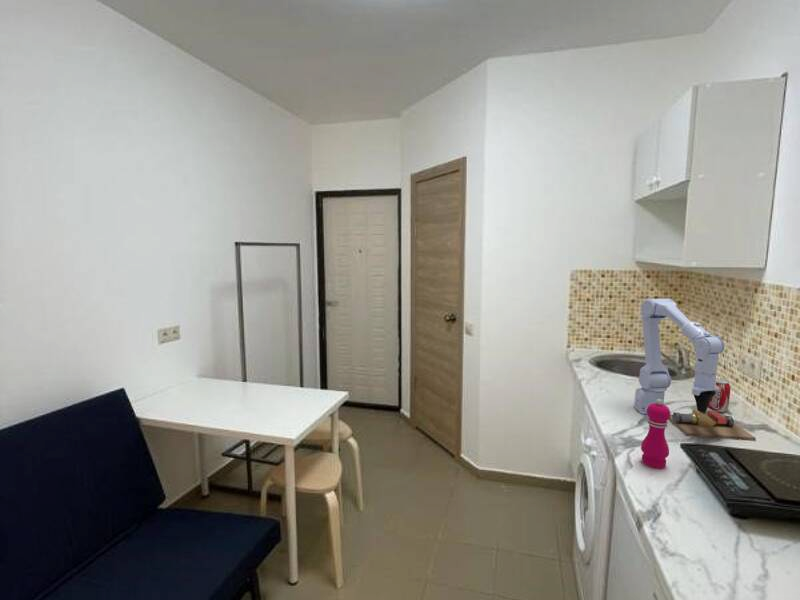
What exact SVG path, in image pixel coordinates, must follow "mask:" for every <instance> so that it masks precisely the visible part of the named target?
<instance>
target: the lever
mask: <svg viewBox="0 0 800 600" xmlns="http://www.w3.org/2000/svg"><path fill="white" fill-rule="evenodd" d="M706 413H707V416H708V417H710V418H711V419H712V420H714V421H715V422H716V423H720V424H726V421H727V418H725V417H724V415H722V414H721V413H720V412H716V411H712V410H711V409H709V408H707V410H706Z"/></svg>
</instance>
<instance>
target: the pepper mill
mask: <svg viewBox="0 0 800 600" xmlns="http://www.w3.org/2000/svg"><path fill="white" fill-rule="evenodd" d="M646 415H647V416H648V417H647V424H648V431H647V432H648V433H647V434H646V436H645V437H644V439H642V441H641V446H640V450H641V452H642V455H641V462H642V463H643V464H644V465H646V466H647V467H650V468H654V469H658V470H659V469H665V468H666V467H667V459H666V458H667V457H669V455H670V448H669V444H668V442H667V439H666V436H665V433H666V432H665V430H666V428H667V427H668V423H669V422H668V421H669V418H670V415H671V409H670V408H669V407H668V406H667V405H665V404H663V401H662V400H661V399H657V400H656V403H653V404H651V405H649V406H648V408H647V414H646Z"/></svg>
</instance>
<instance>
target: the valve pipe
mask: <svg viewBox="0 0 800 600" xmlns="http://www.w3.org/2000/svg"><path fill="white" fill-rule="evenodd" d="M672 415H673V416H672V418H673V422H674V423H691V424H695V425H697V426H702V427H713V426H716V425H721V426H728V427H733V425H734V423H735V420H734V417H732V416H731V415H725V416H724V415H723V416H724V417H725V418H727V421H726V424H720V423H716V422H715V421H714V420H712V419H711V418H710V417H708V416H707V413H706V412H705V413H704V412H700V411H698V410H697V408H692V410H691V413H680V412H675V411H674V412H673V413H672Z"/></svg>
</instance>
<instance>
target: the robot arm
mask: <svg viewBox="0 0 800 600" xmlns="http://www.w3.org/2000/svg"><path fill="white" fill-rule="evenodd" d="M640 312H641V313H640V314H641V325H642V334H643V344H644V357H645V364H644V365H643V366H642V367H641V368H640V369H639V376H638V382H639V385H640V386H641V387H637V388H636V389H635V394H634V403H633V407H634V408H635V410H636V411H638V412H639V413H640V414H642V415H647V408H648V406H649V405H651V404H653V403H656V400H657V399H661V400H662V401H663V405H665V392H666V391H667V389H668V388H669V387H670V386H671V383H672V378H671V376H670V373H669V369H668V367H666V366H665V365H664V364H663V360H662V349H661V337H660V329H659V324H660V322H661V321H662V320H665V319H666V318H668V319H670V320H671V321H672V322H674V323H675V325H677V326H678V327H680V328H681V333H682V335H683V336H684V337H685V338H686V339H688V341H690V343H692V344H693V349H694V351H695V357H696V363H695V374H694V381H693V385H692V386H693V387H692V389H691V394H692V395H693V397H694V399H695V404H696V409H697V410H698V411H700V412H704V413H705V412H706V410H707V408H708V406H709V403H710V401H711V399H712V398H713V396H714V395H715V394H716V392H715V391H711V390H716V391H718V390H719V388H718V387H716V378H717V372H718V364H719V355H720V354H722V353H723V352H724V350H725V342H724V341H723V340H722V338H721V337H719V336H718V335H713V334H711V333H710V332H709V331H707V330H706V329H705V328H704V327H702V326H701V323H700V322H696V321H691V320H689V318H687V316H686V315H685V314H684V313H683V312H682V311H681V310H680V309H679V308H678V305H677V302H675V301H674V300H673V299H671V298H669V297H668V298H646V299H644V301H643V302H642V303H641V304H640Z"/></svg>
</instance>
